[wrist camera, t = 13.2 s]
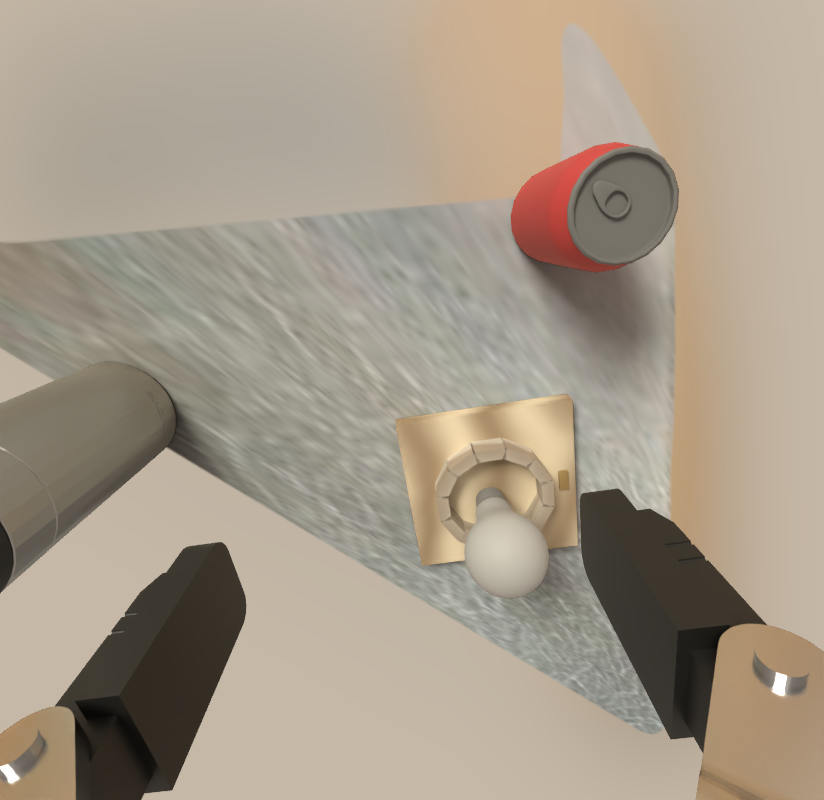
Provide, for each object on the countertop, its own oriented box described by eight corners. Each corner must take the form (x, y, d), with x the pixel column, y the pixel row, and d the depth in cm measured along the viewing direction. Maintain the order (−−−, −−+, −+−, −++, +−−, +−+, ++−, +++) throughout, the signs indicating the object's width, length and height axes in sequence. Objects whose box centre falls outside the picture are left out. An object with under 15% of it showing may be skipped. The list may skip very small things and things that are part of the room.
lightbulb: (527, 514, 41) (566, 608, 31) (462, 528, 42) (480, 626, 31) (515, 457, 39) (552, 537, 29) (447, 473, 40) (460, 558, 29)
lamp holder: (421, 555, 45) (422, 580, 41) (396, 419, 39) (395, 436, 36) (572, 535, 44) (585, 559, 41) (566, 393, 39) (581, 408, 35)
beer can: (549, 147, 32) (624, 101, 21) (614, 205, 33) (718, 192, 22) (491, 226, 34) (531, 224, 23) (555, 279, 35) (623, 301, 24)
